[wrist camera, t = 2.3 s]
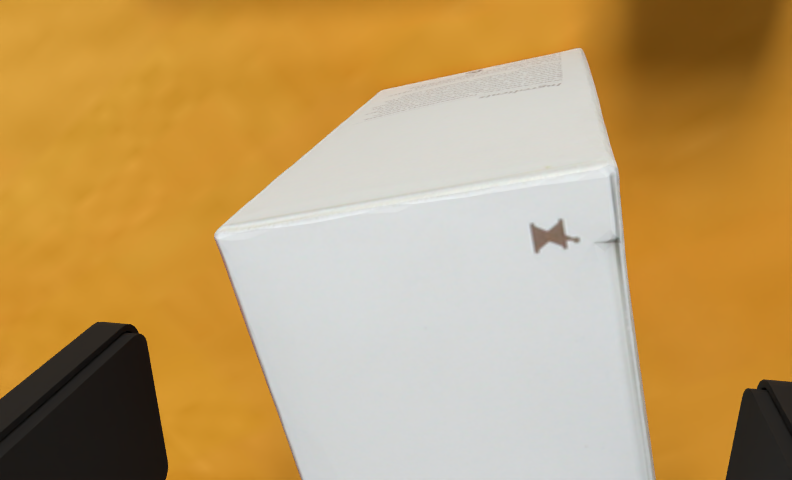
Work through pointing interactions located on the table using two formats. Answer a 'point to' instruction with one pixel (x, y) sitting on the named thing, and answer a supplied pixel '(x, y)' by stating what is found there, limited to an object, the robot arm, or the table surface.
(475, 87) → the small box
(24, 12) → the table surface
